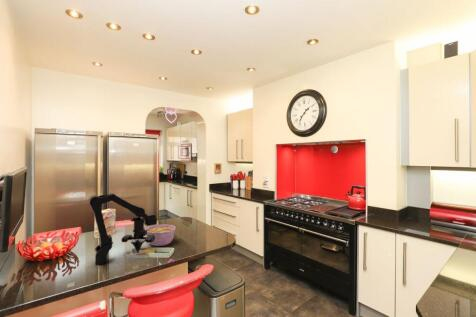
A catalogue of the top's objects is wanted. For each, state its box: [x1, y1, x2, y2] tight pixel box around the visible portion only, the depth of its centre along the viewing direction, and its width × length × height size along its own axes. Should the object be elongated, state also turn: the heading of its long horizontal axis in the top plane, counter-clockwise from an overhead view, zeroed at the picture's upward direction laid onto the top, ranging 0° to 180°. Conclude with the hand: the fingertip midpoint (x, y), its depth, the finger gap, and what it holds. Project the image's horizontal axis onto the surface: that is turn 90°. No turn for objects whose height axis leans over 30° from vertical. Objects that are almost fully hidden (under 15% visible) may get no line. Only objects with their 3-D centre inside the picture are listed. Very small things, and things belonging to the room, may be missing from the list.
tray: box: [148, 247, 175, 259], centre depth 142 cm, size 9×13×3 cm
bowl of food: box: [145, 223, 176, 247], centre depth 161 cm, size 20×20×12 cm
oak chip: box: [139, 247, 149, 254], centre depth 142 cm, size 4×4×3 cm
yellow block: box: [146, 247, 156, 254], centre depth 142 cm, size 4×4×3 cm
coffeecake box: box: [93, 208, 117, 240], centre depth 179 cm, size 15×7×20 cm, turn 171°
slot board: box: [124, 247, 149, 259], centre depth 142 cm, size 11×14×2 cm
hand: (138, 252), depth 142 cm, fingers closed
